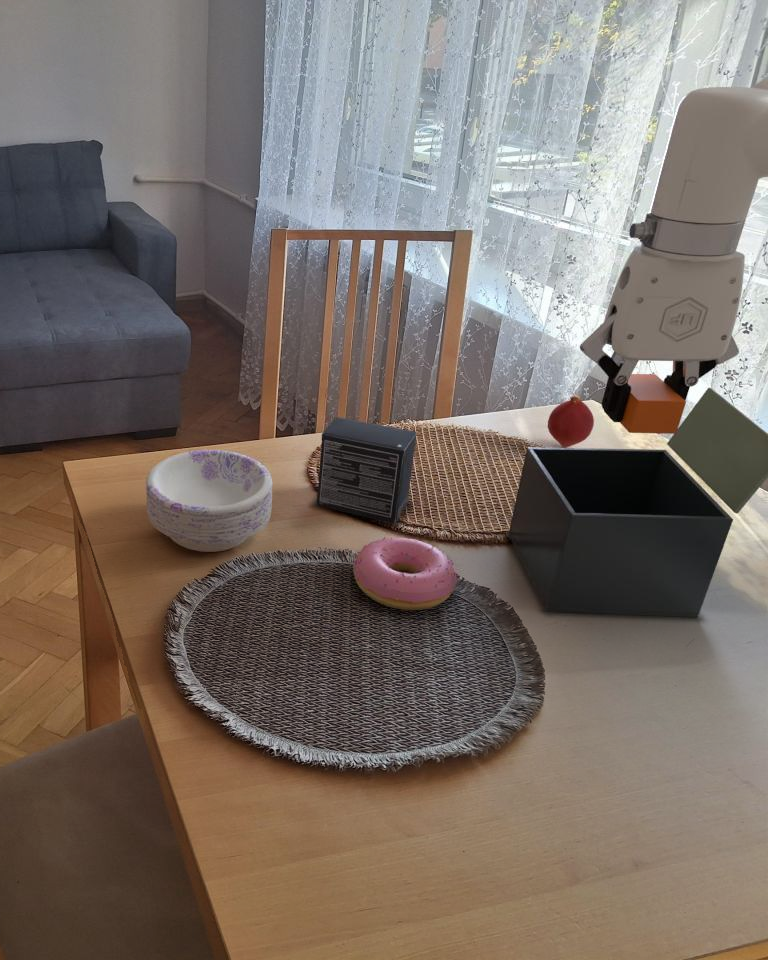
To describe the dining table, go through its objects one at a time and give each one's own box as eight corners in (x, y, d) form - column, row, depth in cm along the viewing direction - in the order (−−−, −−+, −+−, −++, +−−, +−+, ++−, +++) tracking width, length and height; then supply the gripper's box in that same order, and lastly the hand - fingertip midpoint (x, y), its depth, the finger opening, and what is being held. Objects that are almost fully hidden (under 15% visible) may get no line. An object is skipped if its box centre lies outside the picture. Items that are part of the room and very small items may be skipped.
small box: (409, 502, 111) (420, 429, 106) (395, 526, 107) (406, 451, 101) (330, 484, 116) (337, 413, 111) (314, 506, 111) (320, 433, 106)
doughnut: (407, 630, 89) (412, 598, 87) (330, 580, 97) (333, 550, 95) (475, 593, 94) (481, 562, 92) (396, 549, 102) (400, 519, 100)
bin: (638, 539, 102) (665, 449, 97) (698, 617, 89) (733, 519, 84) (508, 535, 104) (527, 447, 98) (547, 611, 91) (572, 515, 85)
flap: (666, 443, 96) (669, 445, 96) (734, 512, 83) (737, 513, 83) (708, 387, 93) (711, 388, 93) (785, 449, 80) (789, 451, 80)
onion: (555, 434, 127) (567, 384, 123) (594, 446, 123) (608, 395, 119) (535, 446, 124) (546, 395, 120) (575, 459, 120) (588, 407, 116)
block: (646, 404, 90) (655, 373, 89) (676, 434, 84) (686, 401, 82) (602, 404, 91) (610, 373, 89) (629, 433, 85) (638, 400, 83)
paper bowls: (131, 555, 103) (128, 498, 99) (166, 494, 115) (166, 441, 111) (256, 576, 98) (259, 517, 94) (279, 510, 111) (283, 455, 107)
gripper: (609, 246, 76) (564, 431, 85) (814, 246, 74) (746, 435, 83) (579, 226, 83) (540, 401, 91) (767, 226, 81) (708, 403, 90)
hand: (639, 415), depth 87 cm, fingers closed on block, 4 cm apart
